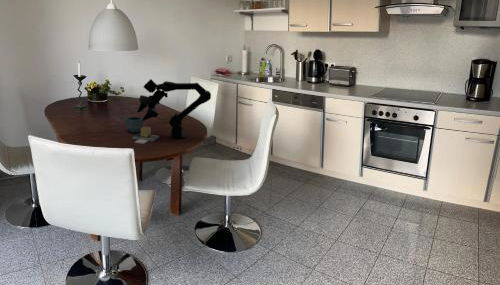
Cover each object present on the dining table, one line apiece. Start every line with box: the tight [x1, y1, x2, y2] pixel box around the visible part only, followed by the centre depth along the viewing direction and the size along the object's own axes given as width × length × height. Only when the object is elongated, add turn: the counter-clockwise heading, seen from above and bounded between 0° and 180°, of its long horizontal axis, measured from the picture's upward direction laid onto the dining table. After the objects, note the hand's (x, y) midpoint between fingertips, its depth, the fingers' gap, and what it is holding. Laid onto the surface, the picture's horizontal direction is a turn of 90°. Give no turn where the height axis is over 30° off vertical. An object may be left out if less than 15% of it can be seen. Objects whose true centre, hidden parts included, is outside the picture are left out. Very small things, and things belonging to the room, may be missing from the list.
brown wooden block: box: [140, 126, 152, 138], centre depth 232 cm, size 4×4×7 cm
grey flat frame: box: [131, 132, 160, 142], centre depth 232 cm, size 14×8×2 cm, turn 79°
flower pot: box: [124, 116, 144, 133], centre depth 245 cm, size 9×9×9 cm
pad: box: [134, 139, 150, 145], centre depth 225 cm, size 6×6×1 cm
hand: (140, 116), depth 233 cm, fingers open, 9 cm apart
